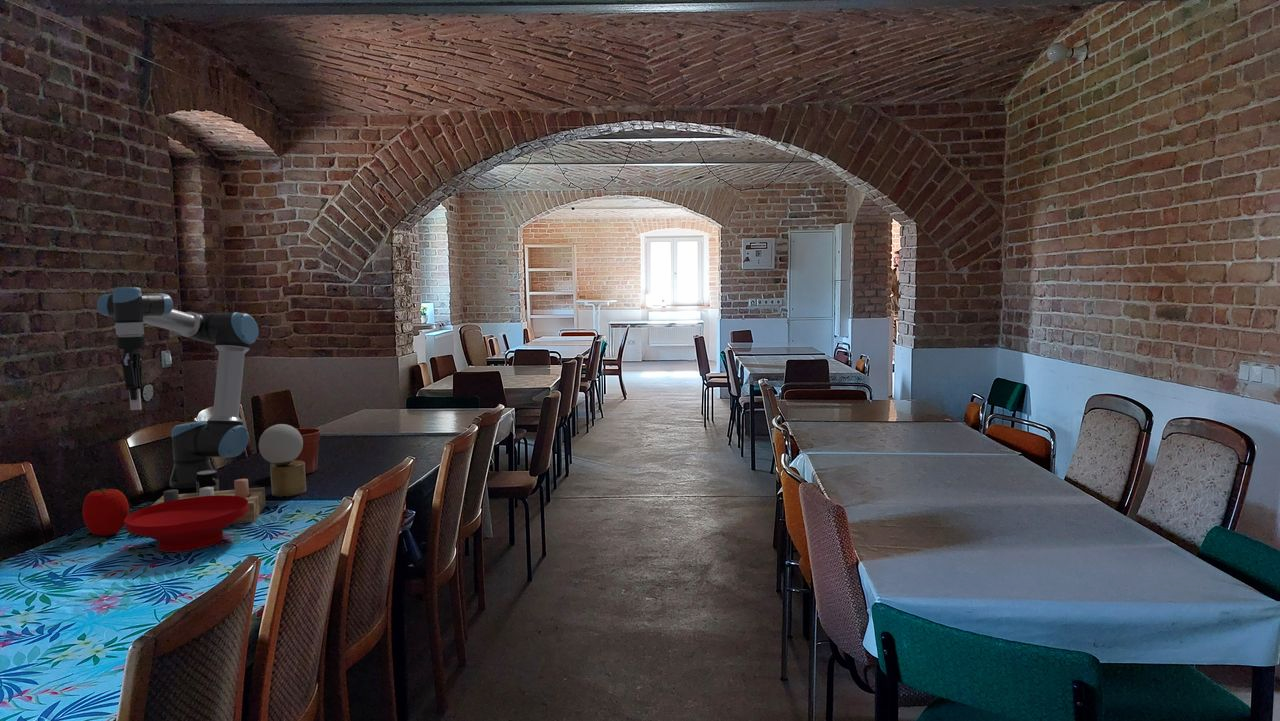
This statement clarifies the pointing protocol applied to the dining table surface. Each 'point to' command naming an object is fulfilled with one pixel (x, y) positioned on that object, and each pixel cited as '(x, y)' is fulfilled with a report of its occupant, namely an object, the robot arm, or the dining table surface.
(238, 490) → the plug terracotta
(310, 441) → the flower pot
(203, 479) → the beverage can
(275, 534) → the dining table surface
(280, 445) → the lamp
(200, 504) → the bowl
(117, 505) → the tomato
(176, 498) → the plug black
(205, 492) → the plug grey
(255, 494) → the plug board
